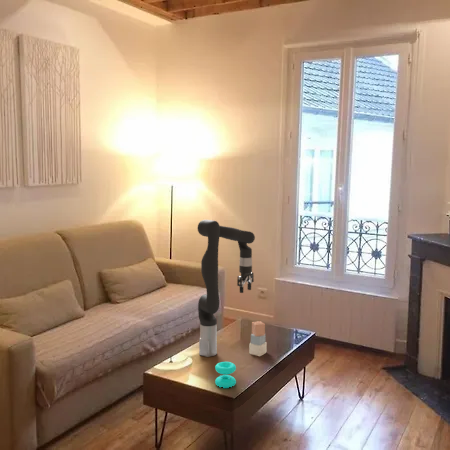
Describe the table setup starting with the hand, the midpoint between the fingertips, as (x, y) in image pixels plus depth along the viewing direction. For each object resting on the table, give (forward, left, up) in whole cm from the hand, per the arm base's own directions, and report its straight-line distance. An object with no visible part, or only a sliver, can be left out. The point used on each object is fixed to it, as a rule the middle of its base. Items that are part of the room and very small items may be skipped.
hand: (245, 291), depth 292 cm
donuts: (-56, -25, -30) cm, 68 cm away
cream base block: (-13, -17, -30) cm, 37 cm away
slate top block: (-13, -17, -24) cm, 32 cm away
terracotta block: (-13, -17, -19) cm, 29 cm away
